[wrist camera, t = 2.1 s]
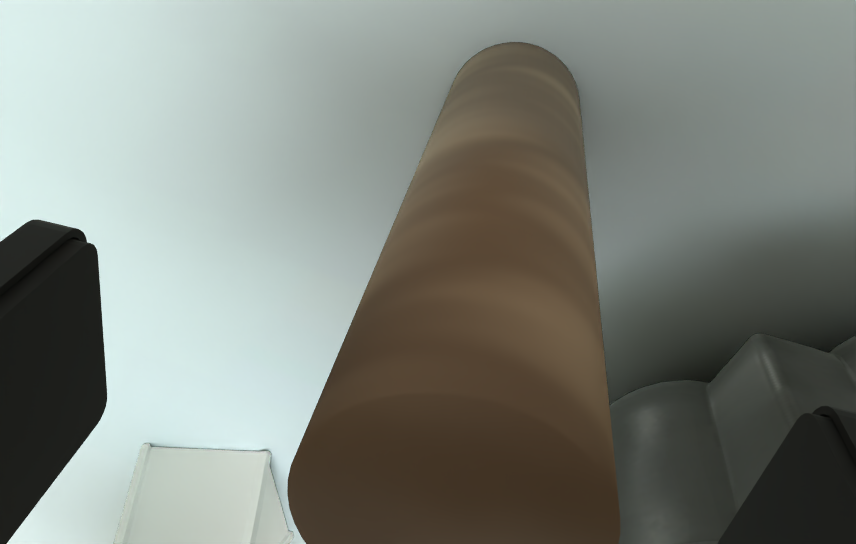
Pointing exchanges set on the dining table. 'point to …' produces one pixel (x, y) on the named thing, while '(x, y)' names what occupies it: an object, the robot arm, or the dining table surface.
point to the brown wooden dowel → (475, 340)
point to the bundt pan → (717, 436)
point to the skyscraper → (202, 499)
